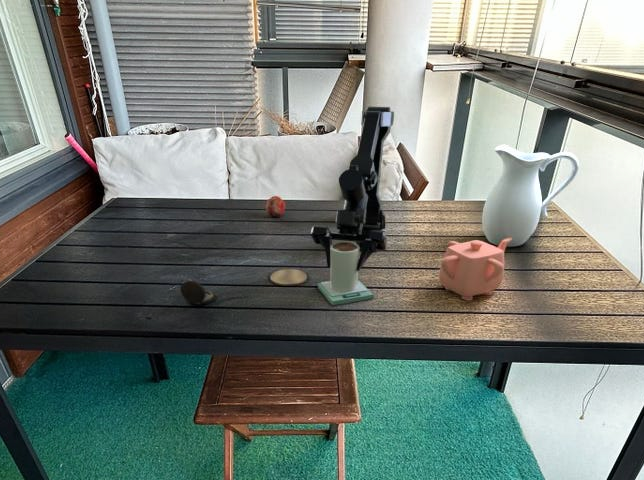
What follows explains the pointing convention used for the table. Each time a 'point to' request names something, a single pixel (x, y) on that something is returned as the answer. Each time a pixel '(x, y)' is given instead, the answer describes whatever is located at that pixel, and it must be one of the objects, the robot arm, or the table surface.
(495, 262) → the teapot
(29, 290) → the table surface
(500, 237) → the pitcher
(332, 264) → the cup
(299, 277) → the coaster
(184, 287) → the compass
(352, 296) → the scale
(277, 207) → the pomegranate
